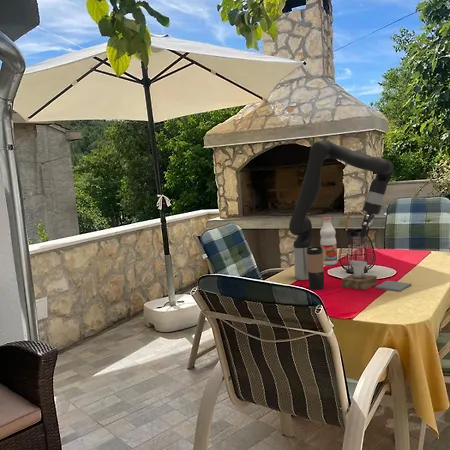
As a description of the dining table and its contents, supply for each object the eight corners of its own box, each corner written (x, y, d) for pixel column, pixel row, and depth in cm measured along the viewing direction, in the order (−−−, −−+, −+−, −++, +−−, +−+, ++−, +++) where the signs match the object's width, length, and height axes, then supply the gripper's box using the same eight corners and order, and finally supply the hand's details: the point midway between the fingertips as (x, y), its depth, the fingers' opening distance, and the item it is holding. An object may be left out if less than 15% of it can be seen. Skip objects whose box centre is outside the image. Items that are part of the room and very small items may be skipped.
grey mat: (375, 288, 208) (375, 286, 208) (387, 282, 216) (387, 280, 216) (400, 291, 199) (400, 290, 199) (411, 285, 208) (411, 283, 207)
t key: (350, 285, 217) (349, 261, 215) (354, 283, 219) (352, 260, 218) (365, 287, 211) (364, 263, 209) (368, 285, 213) (367, 261, 212)
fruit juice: (329, 261, 272) (327, 216, 269) (341, 263, 264) (338, 217, 261) (318, 263, 267) (315, 218, 264) (329, 266, 259) (326, 219, 256)
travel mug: (325, 285, 220) (322, 246, 217) (324, 290, 213) (321, 249, 210) (309, 285, 222) (307, 247, 219) (308, 290, 215) (305, 250, 212)
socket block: (342, 286, 215) (341, 278, 215) (354, 280, 223) (354, 273, 223) (364, 290, 207) (364, 281, 206) (377, 284, 215) (376, 276, 214)
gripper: (367, 200, 210) (358, 233, 212) (363, 200, 197) (352, 234, 200) (383, 204, 207) (373, 237, 209) (379, 204, 194) (369, 239, 197)
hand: (363, 236), depth 204 cm, fingers open, 8 cm apart
